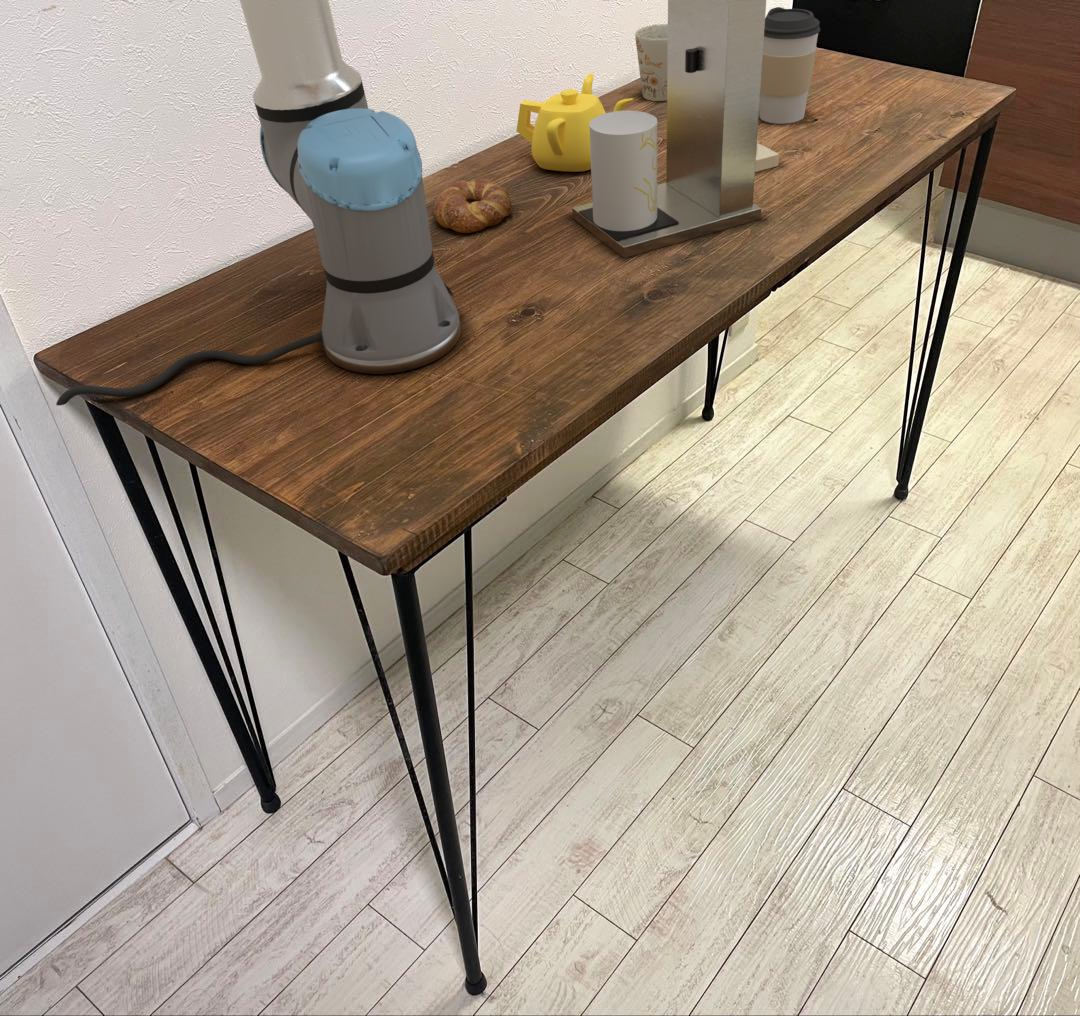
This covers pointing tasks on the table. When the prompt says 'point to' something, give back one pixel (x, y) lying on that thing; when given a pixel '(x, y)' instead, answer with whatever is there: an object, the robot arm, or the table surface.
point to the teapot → (563, 127)
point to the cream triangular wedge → (765, 158)
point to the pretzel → (471, 205)
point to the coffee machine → (704, 126)
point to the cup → (624, 170)
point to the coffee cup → (787, 64)
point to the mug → (653, 60)
